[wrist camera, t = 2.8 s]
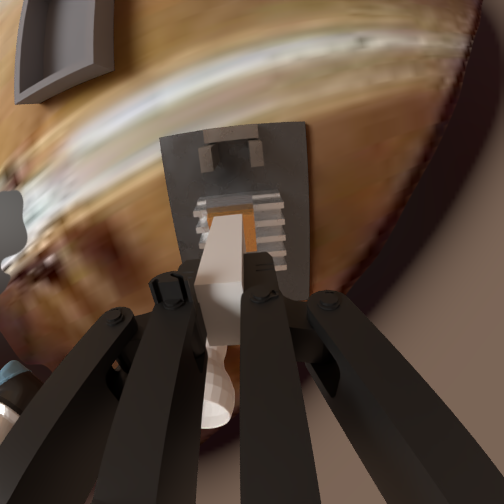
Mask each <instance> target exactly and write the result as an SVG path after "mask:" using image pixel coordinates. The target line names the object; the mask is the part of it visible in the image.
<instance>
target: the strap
mask: <svg viewBox="0 0 504 504" xmlns="http://www.w3.org/2000/svg"><path fill="white" fill-rule="evenodd" d="M206 211H207V222H208V226H209V229H210V227H211V224H212V221H213V218H214V217H216V216H225V215H235V214H242V218H243V227H244V236H245V245H246V254H247V253H257V244H256V232H255V220H254V210H253V200H252V195H242V196H233V197H224V198H215V199H207V200H206Z"/></svg>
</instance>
